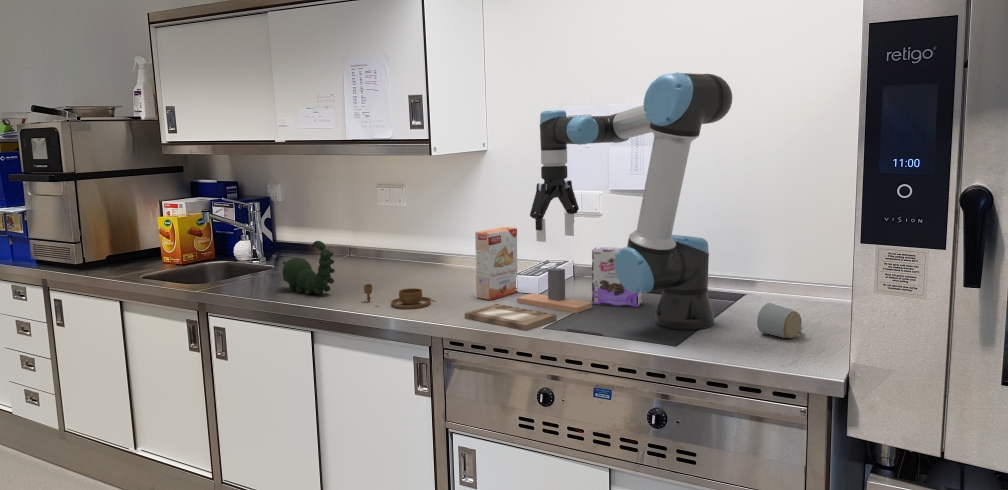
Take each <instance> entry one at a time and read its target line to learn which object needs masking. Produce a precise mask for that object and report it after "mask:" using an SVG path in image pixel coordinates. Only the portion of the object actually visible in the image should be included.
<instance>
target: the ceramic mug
mask: <svg viewBox="0 0 1008 490" xmlns="http://www.w3.org/2000/svg"><path fill="white" fill-rule="evenodd" d="M756 322H757V323H756V324H757V328H758V330H759V332H760V333H761V334H764V333H765V334H764V335H768V334H770V335H769V336H772V335H774V336H773V337H777V336H778V338H780V337H782V338H781V339H784V338H792V339H794V338H795V337H797V336H798V334H801V333H802V332H803V331H802V330H803V326H802V322H803V321H802V317H801V314H800V313H799V312H797V311H796V310H794V309H791V308H788V307H784V306H781V305H779V304H774V303H771V302H768V303H766V304H764V305H763V306H762V307H761V308H760V310H759V312H758V316H757V321H756Z"/></svg>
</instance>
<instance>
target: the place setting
mask: <svg viewBox="0 0 1008 490" xmlns="http://www.w3.org/2000/svg"><path fill="white" fill-rule="evenodd" d="M363 291H364V294H366V300H367V302H366V303H371V294H372V292H373V284H369V283H368V284H366V283H365V284H363ZM398 296H399V297H398V298H395V299H392V300H391V302H390V305H391V306H392V308H395V309H398V310H416V309H422V308H426V307H428V306H430V305H431V303H432V302H435V303H437V300H434V299H432V298H431V297H427V296H423V290H422V289H420V288H412V287H411V288H403V289H401V290H399V291H398ZM421 302H424V303H421ZM399 303H402V305H401V304H399ZM419 303H421V304H419ZM379 307H380V305H375V308H379Z"/></svg>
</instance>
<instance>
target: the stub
mask: <svg viewBox="0 0 1008 490" xmlns="http://www.w3.org/2000/svg"><path fill="white" fill-rule="evenodd" d="M547 294H548V295H546V294H540V293H533V292H532V293H528V294H524V295H522V296H518V297H516V303H518V304H521V305H522V304H523V305H528V306H534V307H539V308H540V307H541V308H544V309H545V308H547V309H552V310H559V311H563V312H568V313H573V314H579V313H581V312H584V311H587V310H590V309H592V308H593V304H592V302H590V301H583V300H578V299H570V298H566V269H565V268H558V267H552V268H551V267H550V268H548V269H547Z"/></svg>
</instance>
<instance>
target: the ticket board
mask: <svg viewBox="0 0 1008 490" xmlns="http://www.w3.org/2000/svg"><path fill="white" fill-rule="evenodd" d="M464 319H467V320H472V321H477V322H482V323H487V324H491V325H496V326H502V327H507V328H512V329H517V330H520V329H521V331H526V330H527V331H529V329H530V330H533V329H535V328H537V327H540V326H543V325H546V324H549V323H552V322H555V321H557V314H554V313H548V312H542V311H536V310H532V309H527V308H526V309H525V308H520V307H515V306H510V305H504V304H499V303H494V304H491V305H487V306H483V307H480V308H477V309H474V310H471V311H467V312H464Z"/></svg>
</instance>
